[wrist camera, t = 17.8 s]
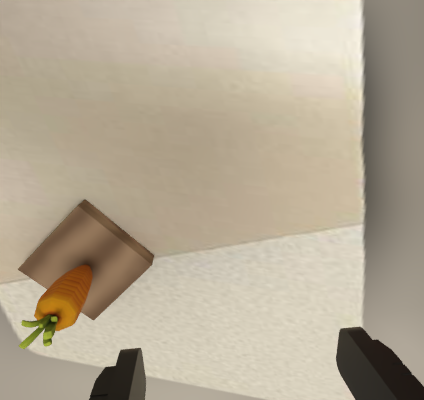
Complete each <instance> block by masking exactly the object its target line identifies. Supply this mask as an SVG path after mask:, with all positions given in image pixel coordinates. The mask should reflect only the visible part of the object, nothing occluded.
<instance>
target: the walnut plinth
mask: <svg viewBox="0 0 424 400" xmlns="http://www.w3.org/2000/svg"><path fill="white" fill-rule="evenodd" d="M153 258H154V255H153V254H152V253H150V252H149V251H148V250H147V249H145V248H144V247H143V246H142V245H141V244H139V243H138V242H137V241H136V240H134V239H133V238H132V237H131V236H129V235H128V234H127V233H126V232H125V231H123V230H122V229H121V228H120V227H118V226H117V225H116V224H115V223H114V222H112V221H111V220H110V219H109V218H107V217H106V216H105V215H104V214H102V213H101V212H100V211H99V210H98V209H96V208H95V207H94V206H93V205H91V204H90V203H89V202H88V201H86V200H84V201H83V202H82V203H80V204H79V205H78V206H77V207H76V208H75V209H74V210H73V211H72V212H71V213H70V214H69V215H68V217H67V218H66V219H65V220H64V221H63V222H62V223H61V224H60V225H59V226H58V227H57V228H56V229H55V230H54V231H53V232H52V233H51V235H50V236H49V237H48V238H47V239H46V240H45V241H44V242H43V243H42V244H41V245H40V246H39V247H38V248H37V249H36V250H35V251H34V253H33V254H32V255H31V256H30V257H29V258H28V259H27V260H26V261H25V262H24V263H23V264H22V265H21V266H20V267H19V268H18V270H19V271H21V272H22V273H24V274H25V275H27V276H28V277H30V278H31V279H33V280H34V281H36V282H37V283H39V284H40V285H42V286H43V287H45V288H46V289H48V288H49V287H50V286H51V285H52V284H53V283H54V282H55V281H56V280H57V279H59V278H60V277H61V276H62V275H64V274H65V273H67V272H68V271H70V270H72V269H74V268H76V267H79V266H81V265H89V266H90V268H91V270H92V276H93V278H92V282H91V286H90V290H89V293H88V296H87V299H86V301H85V304H84V306H83V308H82V310H81V312H82V313H83V314H85V315H86V316H88V317H89V318H91V319H92V320H95V319H96V318H97V317H98V316H99V315H100V314H101V313H102V312H103V311H104V310H105V309H106V308H107V307H108V306H109V305H110V304H111V303H112V302H113V301H115V300H116V299H117V298H118V297H119V296H120V295H121V294H122V293H123V292H124V291H125V290H126V289H127V288H128V287H129V286H130V285H131V284H132V283H133V282H134V281H136V280H137V279H138V278H139V277H140V276H141V275H142V274H143V273H144V272H145V271H146V270H147V269H148V268H149V267H150V266H151V265H152V262H153Z"/></svg>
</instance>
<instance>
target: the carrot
mask: <svg viewBox="0 0 424 400" xmlns="http://www.w3.org/2000/svg"><path fill="white" fill-rule="evenodd" d="M92 278H93V276H92V270H91V268H90V266H89V265H81V266H79V267H76V268H74V269H72V270H70V271H68V272H67V273H65V274H64V275H62V276H61V277H60V278H59V279H57V280H56V281H55V282H54V283H53V284H52V285H51V286H50V287H49V288H48V290H47V291H46V292H45V293H44V294H43V295H42V296H41V298H40V299H39V301H38V304H37V307H36V311H35V315H34V316H35V318H36V319H37V321H24V320H22V326H25V327H36V326H39V327H38V328H37V329H36V330H35V331H34V332H33V333H32V334H31V335H30V336H29V337H27V338H26V339H25V340H24V341H23V342H22V343H21V344H20V345H19V347H20V348H23V349H25V348H26V347H27V346H29V345H30V344H31V343H32V342H33V341H34V339H35V338H36V337H37V336H38V335H39V334H40V333H41V332H42V331H43V330H44V329H45V331H44V333H43V344H44V346H49V345H51V344H52V339H51V338H52V337H53V335H54V333H55V331H60V330H62V329H65V328H67V327H69V326H72V325H73V324H74V323H75V322H76V320H77V318H78V316H79V314H80V312H81V310H82V308H83V306H84V304H85V301H86V299H87V296H88V293H89V290H90V286H91V282H92Z"/></svg>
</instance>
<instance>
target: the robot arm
mask: <svg viewBox="0 0 424 400" xmlns="http://www.w3.org/2000/svg"><path fill="white" fill-rule="evenodd" d="M336 362H337V366H338V370H339V372H340V374H341V376H342V378H343V380H344V381H345V383H346V385H347V386H348V388H349V390H350V391H351V393H352V395H353V396H354V398H355V400H424V387H423V385H422V384H421V383H420V382H419V381H418V380H417V379H416V377H415V376H414V375H412V374H411V372H410V370H409V369H408V368H407V367H406V366H405V365H403V363H402V361H401V360H400V359H399V358H398V357H397V355H396V354H395V353H394V352H393V351H392V350H391V349H390V348H388V347H387V346H385V345H384V344H383V343H381V342H380V341H379V340H372V339H371V338H370V336H369V335H368V334H367V333H366V331H365V330H364V329H363V328H361V327H352V328H342V329H340V332H339V339H338V347H337V355H336ZM145 391H146V377H145V370H144V363H143V356H142V350H141V348H135V349H125V350H121V351H120V353H119V356H118V360H117V363H116V366H111V367H105V369H104V370H103V371H102V373H101V374H100V375H99V377H98V378H97V379H96V381H95V383H94V387H93V389H92V392H91V395H90V399H89V400H145Z"/></svg>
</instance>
